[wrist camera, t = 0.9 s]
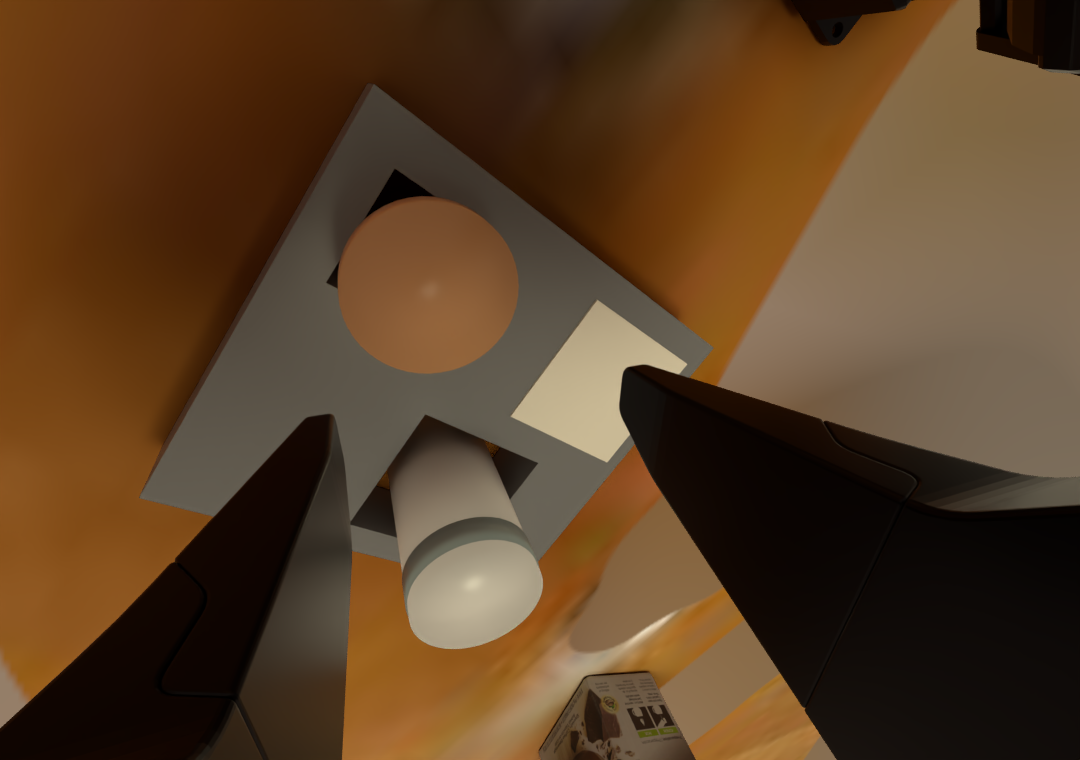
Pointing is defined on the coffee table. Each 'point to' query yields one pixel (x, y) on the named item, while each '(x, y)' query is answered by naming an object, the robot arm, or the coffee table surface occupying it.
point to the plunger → (427, 285)
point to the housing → (405, 397)
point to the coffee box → (617, 723)
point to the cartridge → (459, 540)
